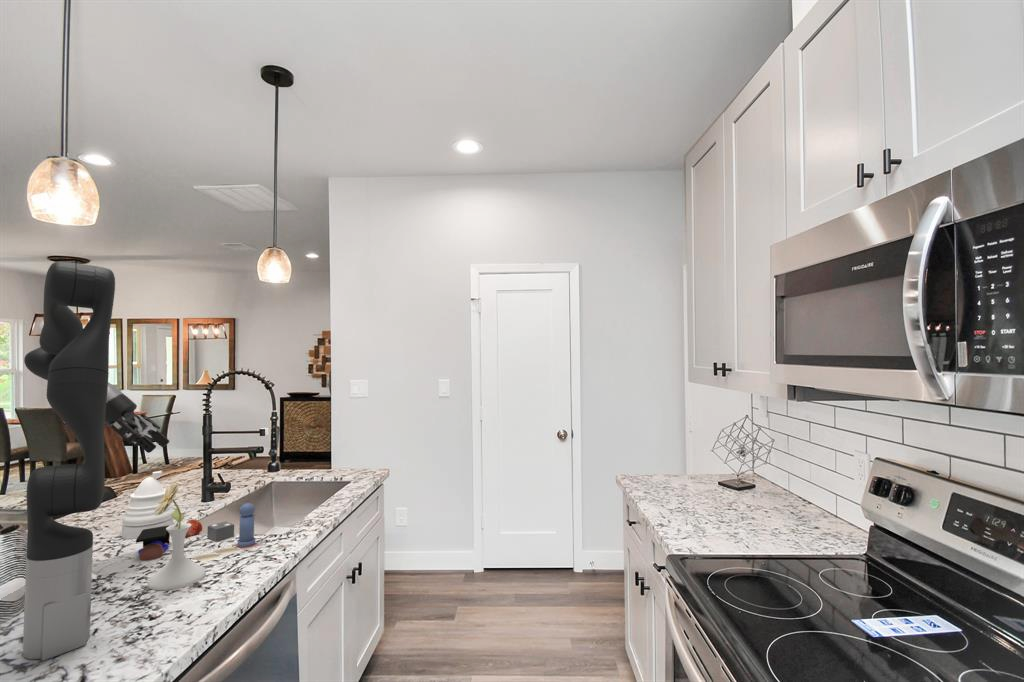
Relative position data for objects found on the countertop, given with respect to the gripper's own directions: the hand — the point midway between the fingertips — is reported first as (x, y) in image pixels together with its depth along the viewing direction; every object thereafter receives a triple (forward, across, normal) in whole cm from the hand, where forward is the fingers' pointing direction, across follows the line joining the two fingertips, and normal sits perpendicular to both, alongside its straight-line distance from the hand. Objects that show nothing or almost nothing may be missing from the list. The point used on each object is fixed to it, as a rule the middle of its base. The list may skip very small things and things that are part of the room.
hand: (159, 447), depth 127 cm
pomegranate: (+23, +22, +21) cm, 38 cm away
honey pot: (+12, +32, +32) cm, 47 cm away
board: (+32, +4, +11) cm, 34 cm away
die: (+29, +15, +14) cm, 36 cm away
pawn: (+34, +7, +7) cm, 36 cm away
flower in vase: (+28, -14, +16) cm, 35 cm away
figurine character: (+19, +10, +25) cm, 33 cm away
